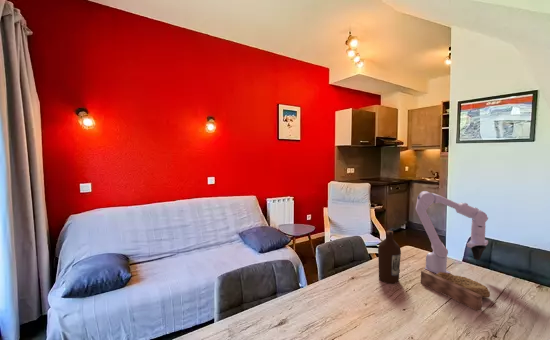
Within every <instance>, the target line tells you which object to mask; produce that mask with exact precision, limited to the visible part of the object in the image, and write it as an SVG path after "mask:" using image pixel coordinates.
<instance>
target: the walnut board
mask: <svg viewBox="0 0 550 340" xmlns="http://www.w3.org/2000/svg"><path fill="white" fill-rule="evenodd" d="M420 284H422V285H424V286H427V287H428V288H430V289H432V290H434V291H436V292H438V293H441V294H442V295H445V296H446V297H449V298H450V299H453V300H454V301H457V302H459V303H461V304H462V305H465V306H466V307H469V308H471V309H472V310H475V311H477V312H480V311H482V307H483V297H482V295H479V294H477V293H475V292H473V291H470V290H468V289H466V288H464V287H461V286H459V285H457V284H454V283H452V282H450V281H448V280H445V279H443V278H441V277H439V276H436V274H435V273H434V274H433V272H431V271H428V270H426V269H424V270H421V271H420Z"/></svg>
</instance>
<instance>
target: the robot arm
mask: <svg viewBox="0 0 550 340" xmlns="http://www.w3.org/2000/svg"><path fill="white" fill-rule="evenodd" d="M416 198H417V199H416V204H415V211H416V213H417V215H418V219H419V220H420V222H421V223H422V226H423V228H424V230H425V232H426V234H427V238H429V241H430V243H431V245H430V247H431V249H432V252H428V253H426V256H425V267H424V270H426V271H428V272H430V273H434V274H435V275H436V274H438V273H439V272H444V273H450V274H451V271H448V270H447V269H448V268H447V267H448V265H447V263H448V254H449V251H448V248H447V247H445V245H444V243H443V242H442V241H441V239H440V237H439V234H438V232H437V231H436V229H435V226H434V224H433V222H432V220H431V218H430V216H429V215H428V212H427V211H428V209H429V207H430V206H431V205H432V204H434V205H436V204H442V205H445V206H446V207H450V208H452V209H454V210H455V212H456V214H460V215H462V216H464V217H466V218H469V219H471V228H470V229H471V230H470V231H471V234H470V240H469V241H468V242H467V243H466V247H467V248H469V249H470V250H471V252H472V255H473V259H474V260H477V261H480V260H481V257H482V255H483V252H484V251H485V250H486V248H487V247H486V246H487V245H489V239H486V226H487V225H486V223H487V221H488V219H489V217H488V215H487V214H486V212H484V211H483V210H481V209H479V208H478V207H474V206H470V205H469V204H468V203H467V202H459V203H458V202H455V201H453V200H452V199H449V198H446V197H445V196H442V195H440V194H437V193H434V192H430V191H427V190H422V191H420V192H419V194H418V195H417V197H416Z"/></svg>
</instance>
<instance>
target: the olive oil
mask: <svg viewBox="0 0 550 340" xmlns="http://www.w3.org/2000/svg"><path fill="white" fill-rule="evenodd" d="M377 253H378V255H377V256H378V259H377V260H378V261H377V262H378V279H379V280H380V281H381V282H383V283H386V284H389V285H390V284H398V283H399V280H400V274H401V273H400V272H401V270H400V267H401V257H402V256H401V255H402V251H401V247H400V245H399V244H398V243H397V242H396V240H394V231H393V230H386V233H385V239H384V240H382V241H381V242H380V243H379V244H378V247H377Z"/></svg>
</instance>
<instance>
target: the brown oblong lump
mask: <svg viewBox="0 0 550 340" xmlns="http://www.w3.org/2000/svg"><path fill="white" fill-rule="evenodd" d="M435 275H436V276H439V277H441V278H443V279H445V280H448V281H450V282H452V283H454V284H457V285H459V286H461V287H464V288H466V289H468V290H470V291H473V292H475V293H477V294H479V295H482V298H483V299H484V298H490V295H491V294H490V290H489V288H488V287H487V286H486V285H484V284H482V283H480V282H478V281H475V280H473V279H471V278H468V277H467V276H461V275H454V274H452V273H451V272H450V273H444V272H439V273H438V274H436V273H435Z"/></svg>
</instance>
